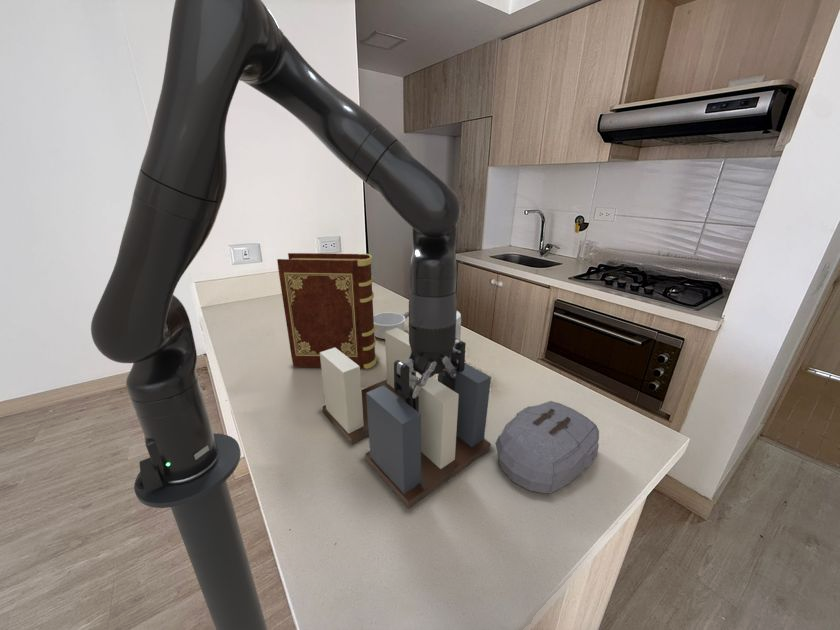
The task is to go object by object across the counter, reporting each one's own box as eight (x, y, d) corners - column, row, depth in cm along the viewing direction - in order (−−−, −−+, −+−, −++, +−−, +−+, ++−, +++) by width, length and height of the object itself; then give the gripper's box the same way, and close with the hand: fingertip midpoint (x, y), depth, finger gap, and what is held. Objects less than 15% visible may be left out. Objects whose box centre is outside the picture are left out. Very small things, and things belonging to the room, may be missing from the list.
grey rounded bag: (537, 416, 75) (476, 460, 63) (542, 383, 72) (479, 423, 60) (608, 456, 64) (550, 519, 52) (618, 420, 61) (558, 478, 49)
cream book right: (412, 402, 77) (411, 347, 71) (386, 383, 84) (384, 331, 78) (423, 396, 79) (424, 342, 73) (398, 378, 86) (397, 327, 81)
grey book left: (404, 494, 54) (402, 424, 49) (370, 457, 61) (365, 392, 56) (420, 483, 56) (421, 414, 51) (386, 448, 63) (383, 384, 58)
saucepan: (430, 327, 119) (431, 312, 117) (385, 344, 106) (384, 328, 104) (409, 318, 127) (409, 304, 124) (364, 333, 114) (363, 317, 112)
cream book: (440, 469, 59) (443, 402, 54) (405, 437, 66) (404, 375, 61) (454, 459, 61) (458, 394, 56) (419, 430, 68) (419, 369, 63)
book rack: (408, 508, 54) (408, 501, 53) (322, 411, 76) (321, 406, 75) (490, 449, 66) (491, 443, 65) (395, 380, 88) (395, 375, 87)
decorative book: (378, 355, 100) (374, 253, 89) (374, 369, 93) (369, 260, 81) (302, 353, 100) (288, 252, 89) (292, 367, 93) (276, 259, 82)
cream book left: (348, 433, 67) (343, 372, 62) (326, 409, 74) (319, 352, 69) (363, 426, 69) (359, 366, 64) (340, 402, 76) (335, 347, 71)
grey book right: (471, 447, 64) (478, 383, 59) (435, 420, 71) (438, 361, 66) (484, 439, 66) (491, 376, 61) (448, 413, 73) (451, 355, 68)
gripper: (448, 301, 61) (445, 380, 67) (381, 321, 52) (385, 409, 58) (480, 313, 55) (474, 397, 62) (411, 338, 47) (412, 432, 53)
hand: (430, 403), depth 60 cm, fingers open, 7 cm apart
